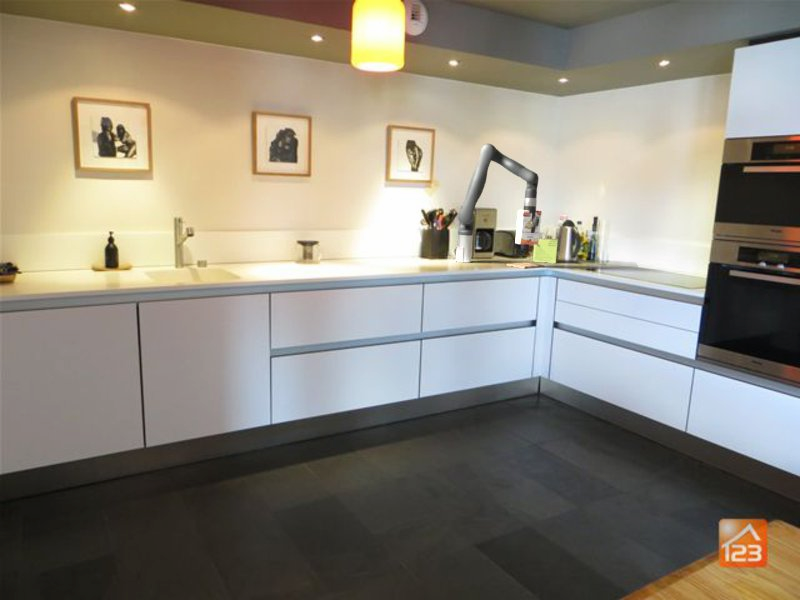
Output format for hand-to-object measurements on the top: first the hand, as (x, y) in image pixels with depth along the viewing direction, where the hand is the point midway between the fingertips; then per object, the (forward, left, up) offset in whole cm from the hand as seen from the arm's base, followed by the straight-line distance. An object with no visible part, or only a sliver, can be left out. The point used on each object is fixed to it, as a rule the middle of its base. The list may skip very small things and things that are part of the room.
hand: (527, 232), depth 358 cm
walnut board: (0, 0, -21) cm, 21 cm away
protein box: (+36, +11, -21) cm, 44 cm away
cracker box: (0, 0, -7) cm, 7 cm away
